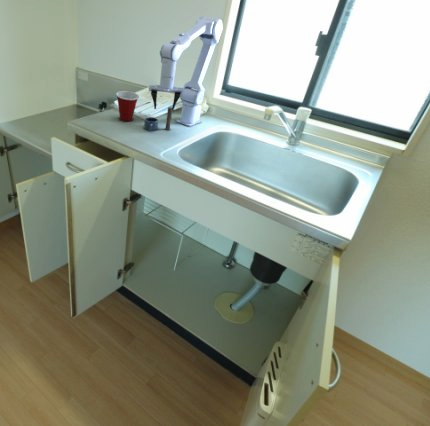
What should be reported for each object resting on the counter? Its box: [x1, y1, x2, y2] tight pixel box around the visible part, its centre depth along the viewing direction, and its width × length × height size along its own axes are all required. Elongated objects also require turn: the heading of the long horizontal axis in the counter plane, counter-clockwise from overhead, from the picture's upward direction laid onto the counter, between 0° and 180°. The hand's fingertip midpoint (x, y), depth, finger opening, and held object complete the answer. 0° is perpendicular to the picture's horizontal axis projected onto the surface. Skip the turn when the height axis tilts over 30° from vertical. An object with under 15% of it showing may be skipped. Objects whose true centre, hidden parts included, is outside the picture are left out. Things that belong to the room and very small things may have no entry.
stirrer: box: [165, 106, 173, 131], centre depth 147 cm, size 2×2×10 cm
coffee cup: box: [143, 116, 159, 132], centre depth 148 cm, size 9×6×4 cm
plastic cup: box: [115, 90, 140, 122], centre depth 154 cm, size 11×11×12 cm
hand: (164, 109), depth 142 cm, fingers open, 7 cm apart
